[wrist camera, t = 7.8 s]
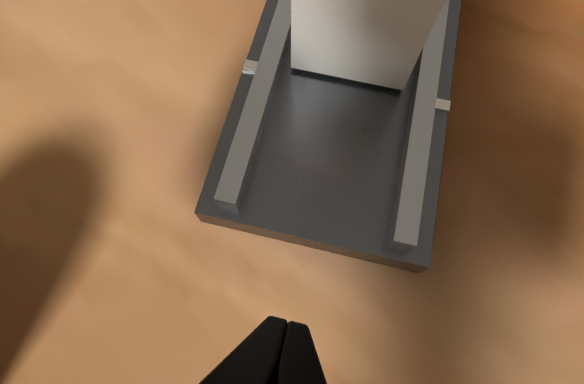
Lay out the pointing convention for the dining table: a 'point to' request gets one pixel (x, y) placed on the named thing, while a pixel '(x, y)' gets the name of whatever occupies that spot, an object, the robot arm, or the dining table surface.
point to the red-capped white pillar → (361, 38)
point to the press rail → (334, 151)
